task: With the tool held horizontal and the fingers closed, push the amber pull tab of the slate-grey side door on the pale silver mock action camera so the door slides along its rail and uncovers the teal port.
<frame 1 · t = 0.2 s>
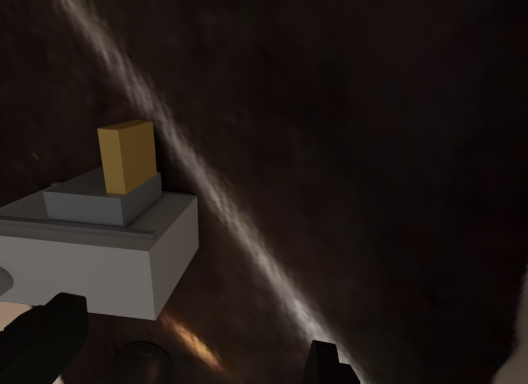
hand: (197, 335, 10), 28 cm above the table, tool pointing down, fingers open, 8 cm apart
door: (106, 166, 32), point 7 cm above the table, slide at 0.0 cm
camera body: (129, 215, 41), on the table
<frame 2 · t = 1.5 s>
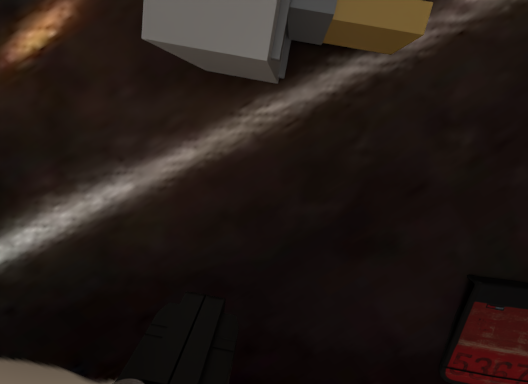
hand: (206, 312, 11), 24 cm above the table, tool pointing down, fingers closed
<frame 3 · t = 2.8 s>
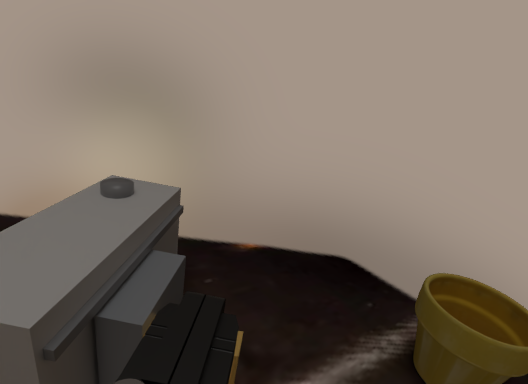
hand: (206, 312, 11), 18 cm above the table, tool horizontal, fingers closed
door: (184, 332, 24), point 7 cm above the table, slide at 0.0 cm
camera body: (96, 347, 28), on the table
plant pot: (443, 375, 32), on the table
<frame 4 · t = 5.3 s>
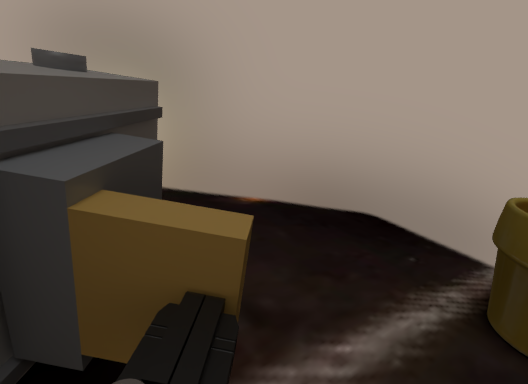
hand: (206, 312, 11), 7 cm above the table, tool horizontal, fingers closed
door: (158, 244, 15), point 6 cm above the table, slide at 0.7 cm, touching gripper
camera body: (27, 296, 19), on the table
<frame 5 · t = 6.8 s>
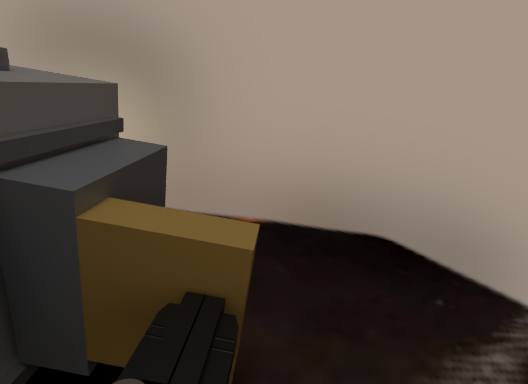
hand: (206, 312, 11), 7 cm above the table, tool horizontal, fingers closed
door: (163, 250, 15), point 6 cm above the table, slide at 7.0 cm, touching gripper
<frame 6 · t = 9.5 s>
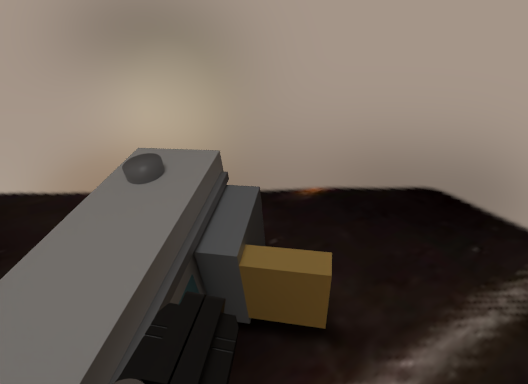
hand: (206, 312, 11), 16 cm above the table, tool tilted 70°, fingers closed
door: (272, 256, 25), point 7 cm above the table, slide at 7.0 cm
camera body: (171, 333, 27), on the table
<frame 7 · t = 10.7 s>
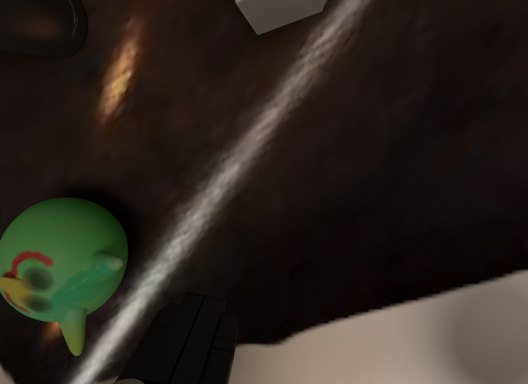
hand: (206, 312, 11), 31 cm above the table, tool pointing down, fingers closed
toy bird: (102, 236, 48), on the table
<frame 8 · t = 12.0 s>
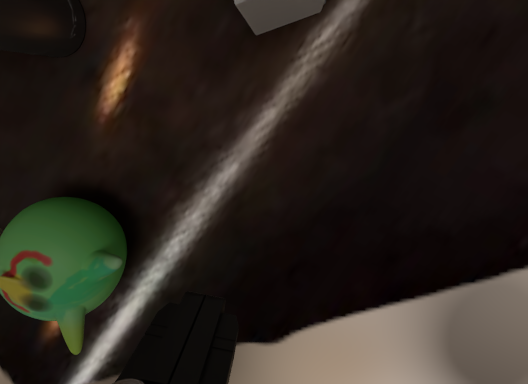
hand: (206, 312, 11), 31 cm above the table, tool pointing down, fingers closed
toy bird: (100, 235, 48), on the table
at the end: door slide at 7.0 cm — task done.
